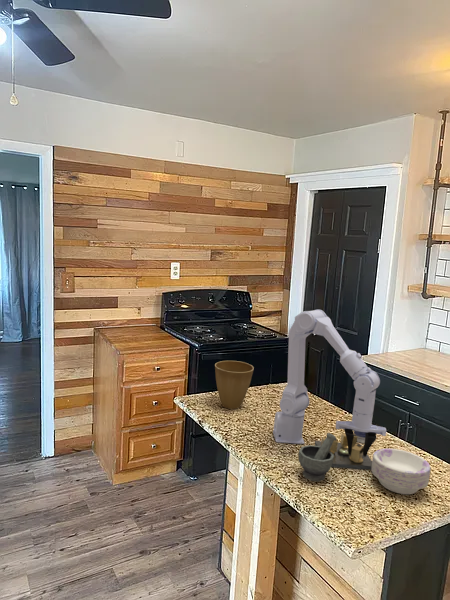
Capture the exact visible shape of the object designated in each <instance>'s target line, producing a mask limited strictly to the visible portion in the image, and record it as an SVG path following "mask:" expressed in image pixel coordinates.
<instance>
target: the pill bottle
mask: <svg viewBox="0 0 450 600" xmlns="http://www.w3.org/2000/svg"><path fill="white" fill-rule="evenodd" d="M371 424H372V425H373V422H372V423H371ZM365 433H366V432H359V431H353V434H356V436H357V443H359V444H365Z"/></svg>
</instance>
